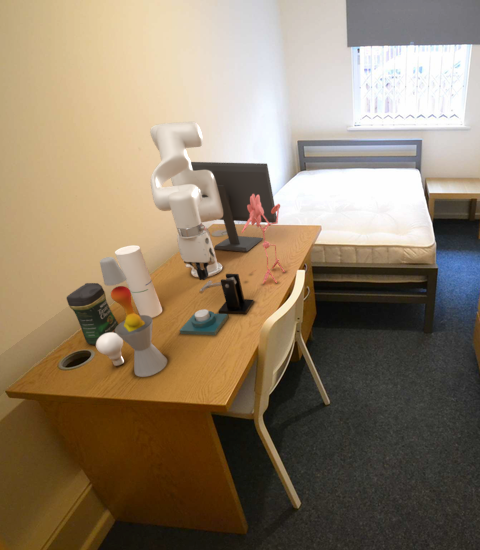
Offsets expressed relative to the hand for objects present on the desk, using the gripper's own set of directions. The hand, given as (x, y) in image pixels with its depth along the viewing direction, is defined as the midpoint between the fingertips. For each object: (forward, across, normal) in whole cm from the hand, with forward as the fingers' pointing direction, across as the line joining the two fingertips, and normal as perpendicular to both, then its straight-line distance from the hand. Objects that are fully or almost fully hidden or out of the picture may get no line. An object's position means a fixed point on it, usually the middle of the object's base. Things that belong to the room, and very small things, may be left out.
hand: (204, 278), depth 128 cm
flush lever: (+3, -6, 0) cm, 6 cm away
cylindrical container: (+12, +20, +6) cm, 24 cm away
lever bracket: (+12, -10, +1) cm, 15 cm away
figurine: (+12, -12, -23) cm, 29 cm away
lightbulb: (+12, +13, +32) cm, 36 cm away
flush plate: (+12, -3, +12) cm, 17 cm away
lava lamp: (+12, +3, +32) cm, 34 cm away
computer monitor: (+13, +12, -54) cm, 57 cm away
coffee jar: (+12, +27, +20) cm, 36 cm away
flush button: (+9, -3, +12) cm, 15 cm away
